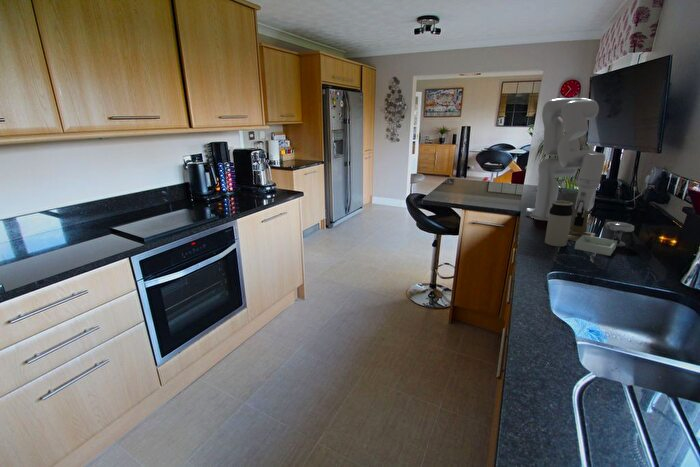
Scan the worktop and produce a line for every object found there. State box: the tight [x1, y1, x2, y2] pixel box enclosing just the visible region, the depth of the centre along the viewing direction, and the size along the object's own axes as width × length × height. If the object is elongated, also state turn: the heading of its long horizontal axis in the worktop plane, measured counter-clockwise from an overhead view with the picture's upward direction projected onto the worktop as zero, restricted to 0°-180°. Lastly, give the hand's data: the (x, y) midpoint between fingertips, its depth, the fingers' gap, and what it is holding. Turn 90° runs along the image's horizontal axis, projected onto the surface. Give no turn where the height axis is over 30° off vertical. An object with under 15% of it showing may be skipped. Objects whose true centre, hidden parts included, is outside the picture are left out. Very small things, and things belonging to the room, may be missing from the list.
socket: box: [567, 229, 596, 242], centre depth 144 cm, size 10×10×2 cm
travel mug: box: [544, 199, 574, 248], centre depth 136 cm, size 8×8×18 cm
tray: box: [574, 235, 617, 256], centre depth 132 cm, size 12×12×3 cm
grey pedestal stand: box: [605, 221, 635, 248], centre depth 135 cm, size 9×9×9 cm
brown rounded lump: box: [570, 208, 591, 233], centre depth 143 cm, size 6×6×11 cm
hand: (579, 224), depth 144 cm, fingers closed on brown rounded lump, 4 cm apart
